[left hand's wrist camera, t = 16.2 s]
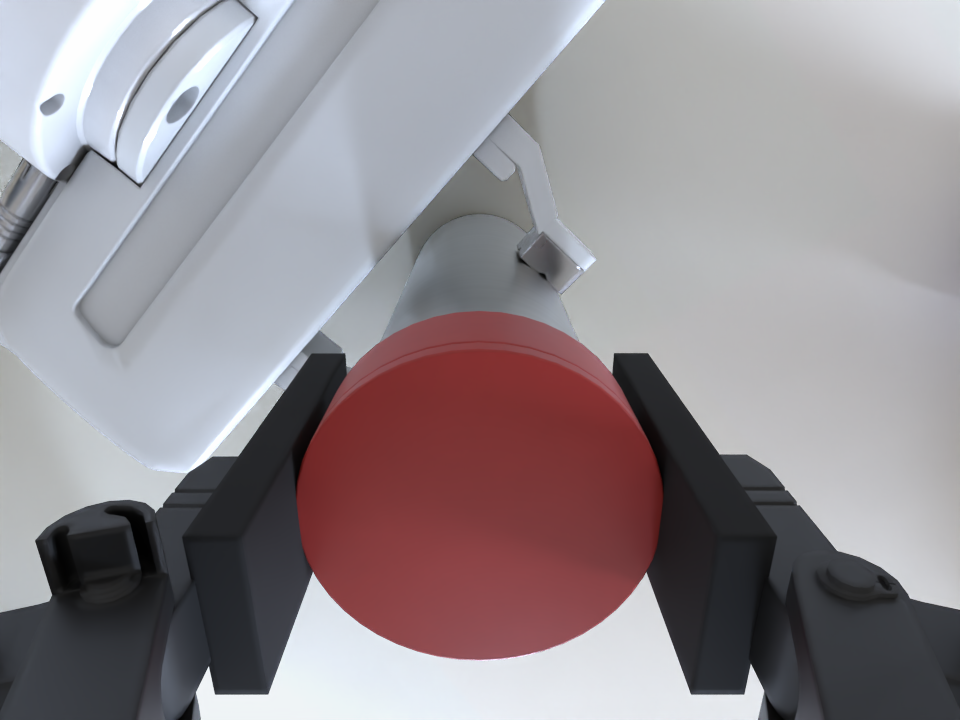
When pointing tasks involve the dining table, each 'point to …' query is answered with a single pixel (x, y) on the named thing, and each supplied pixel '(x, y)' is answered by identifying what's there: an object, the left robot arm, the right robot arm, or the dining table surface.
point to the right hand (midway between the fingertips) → (501, 349)
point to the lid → (479, 489)
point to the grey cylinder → (476, 277)
